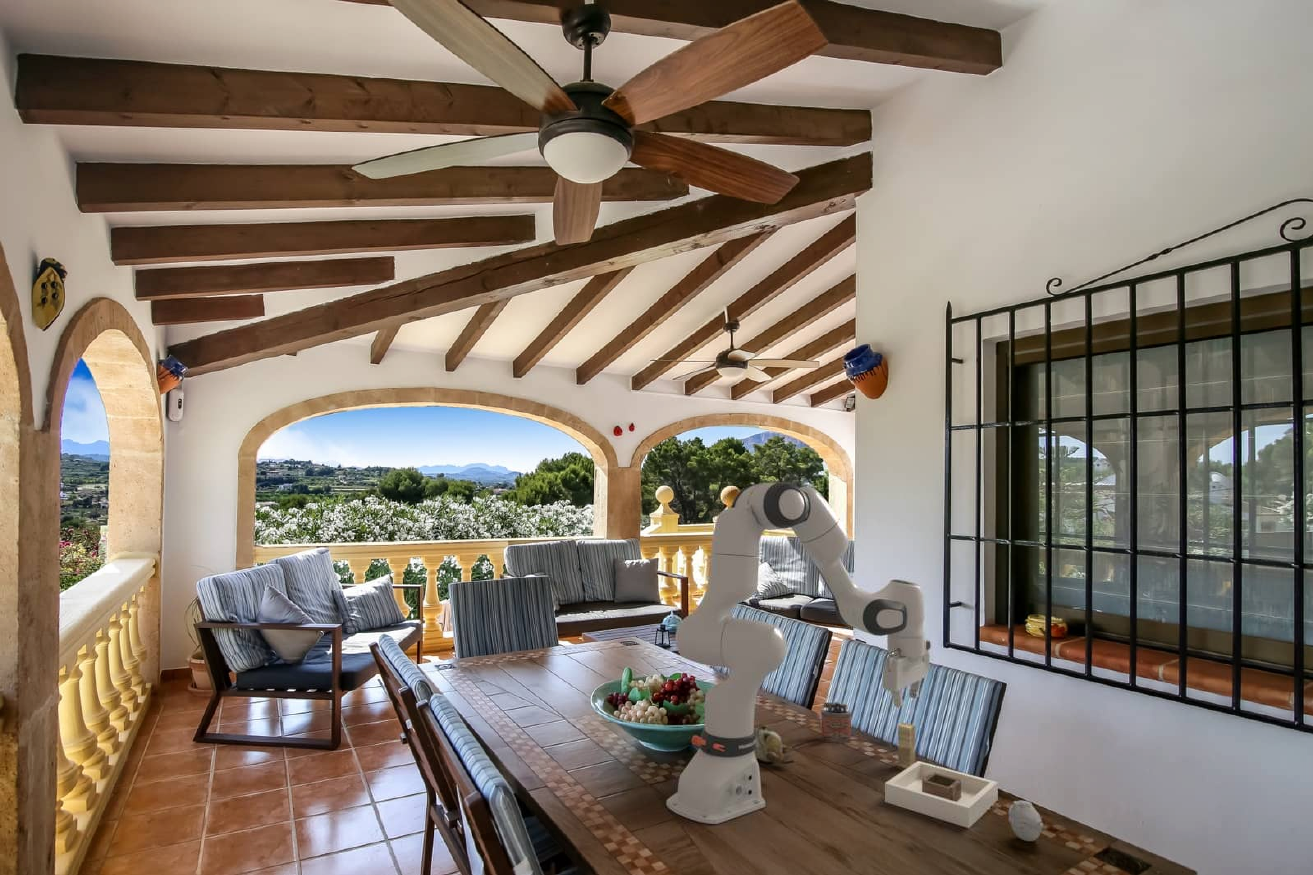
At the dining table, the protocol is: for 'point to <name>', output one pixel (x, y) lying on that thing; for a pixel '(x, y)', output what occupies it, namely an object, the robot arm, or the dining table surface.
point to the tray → (942, 793)
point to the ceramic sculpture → (771, 747)
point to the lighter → (836, 723)
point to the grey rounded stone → (1025, 820)
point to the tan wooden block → (906, 745)
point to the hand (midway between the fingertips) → (906, 701)
